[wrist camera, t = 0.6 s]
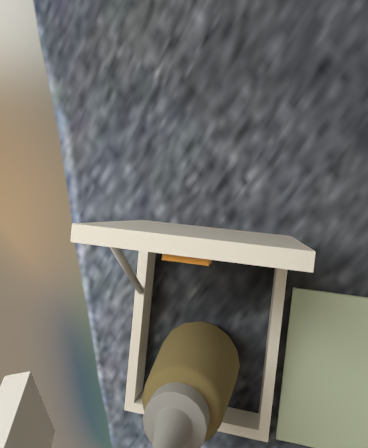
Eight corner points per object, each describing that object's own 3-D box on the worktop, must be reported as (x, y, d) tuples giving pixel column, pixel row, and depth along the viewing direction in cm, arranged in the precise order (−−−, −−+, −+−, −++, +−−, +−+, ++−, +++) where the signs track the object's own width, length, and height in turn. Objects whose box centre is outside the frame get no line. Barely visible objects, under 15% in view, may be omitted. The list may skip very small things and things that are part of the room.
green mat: (292, 287, 36) (293, 288, 36) (409, 303, 34) (412, 304, 33) (275, 435, 37) (275, 439, 36) (388, 460, 35) (391, 464, 34)
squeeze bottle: (242, 314, 37) (229, 403, 20) (240, 388, 38) (226, 541, 20) (169, 308, 39) (97, 386, 21) (168, 379, 39) (96, 514, 22)
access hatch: (150, 219, 39) (72, 223, 23) (288, 234, 36) (315, 251, 20) (133, 395, 40) (47, 524, 24) (267, 424, 37) (275, 594, 21)
